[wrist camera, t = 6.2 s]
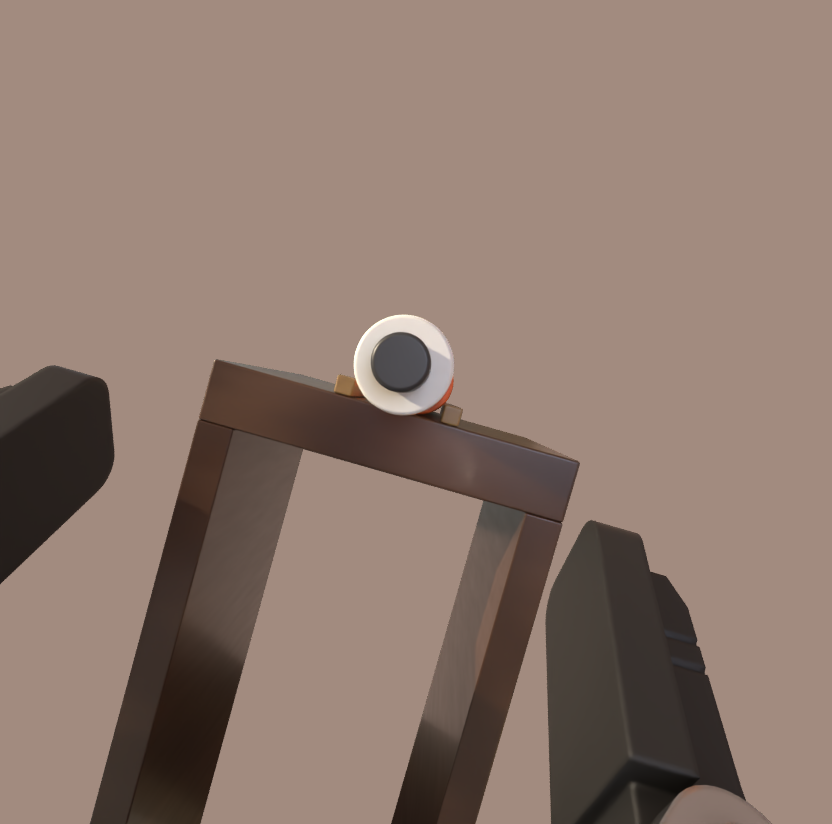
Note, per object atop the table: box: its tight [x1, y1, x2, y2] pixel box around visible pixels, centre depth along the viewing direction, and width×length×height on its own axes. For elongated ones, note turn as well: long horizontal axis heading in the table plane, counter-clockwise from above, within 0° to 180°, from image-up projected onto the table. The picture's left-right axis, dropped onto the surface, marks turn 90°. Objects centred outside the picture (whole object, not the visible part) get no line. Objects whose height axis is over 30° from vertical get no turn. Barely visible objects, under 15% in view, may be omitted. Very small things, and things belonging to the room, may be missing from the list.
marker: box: [354, 315, 454, 415], centre depth 18 cm, size 17×2×2 cm, turn 179°
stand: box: [90, 360, 580, 824], centre depth 24 cm, size 12×11×33 cm
